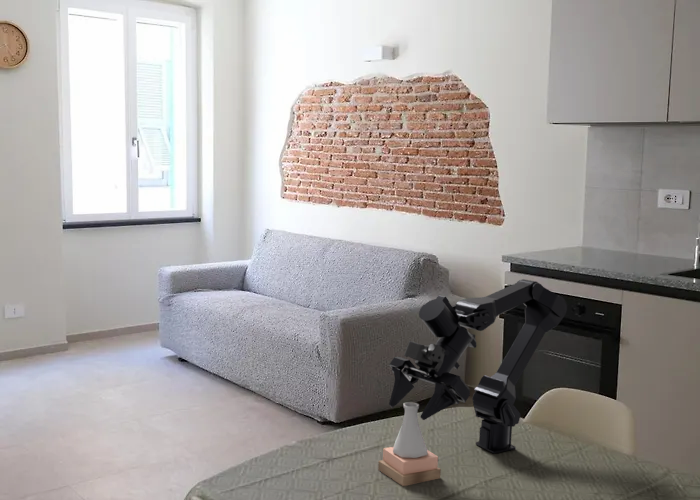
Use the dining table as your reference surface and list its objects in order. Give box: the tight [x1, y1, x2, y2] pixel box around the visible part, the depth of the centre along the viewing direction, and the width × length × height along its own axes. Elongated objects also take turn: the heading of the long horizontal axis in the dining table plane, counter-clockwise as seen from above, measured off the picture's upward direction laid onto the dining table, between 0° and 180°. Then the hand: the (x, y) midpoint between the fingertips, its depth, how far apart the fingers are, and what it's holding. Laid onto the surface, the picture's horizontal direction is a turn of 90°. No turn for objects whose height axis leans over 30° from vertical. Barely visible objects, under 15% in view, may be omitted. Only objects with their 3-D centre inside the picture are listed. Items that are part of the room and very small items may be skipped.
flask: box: [392, 401, 428, 458], centre depth 162 cm, size 7×7×10 cm
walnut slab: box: [377, 459, 442, 487], centre depth 163 cm, size 9×9×2 cm
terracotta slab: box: [382, 446, 439, 475], centre depth 163 cm, size 8×8×2 cm
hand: (405, 412), depth 161 cm, fingers open, 9 cm apart
